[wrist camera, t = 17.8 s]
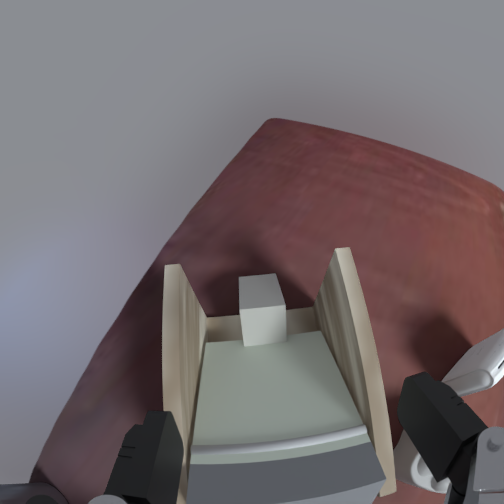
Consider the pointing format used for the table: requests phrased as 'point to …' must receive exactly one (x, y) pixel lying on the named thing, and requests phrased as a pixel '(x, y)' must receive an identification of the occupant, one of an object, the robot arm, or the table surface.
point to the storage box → (297, 321)
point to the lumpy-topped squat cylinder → (414, 467)
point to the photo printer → (478, 367)
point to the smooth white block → (262, 310)
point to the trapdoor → (279, 428)
